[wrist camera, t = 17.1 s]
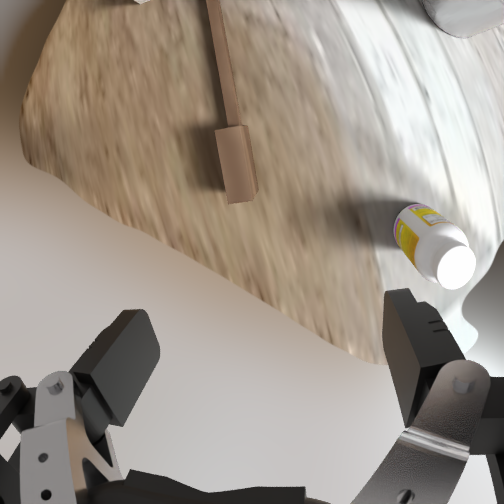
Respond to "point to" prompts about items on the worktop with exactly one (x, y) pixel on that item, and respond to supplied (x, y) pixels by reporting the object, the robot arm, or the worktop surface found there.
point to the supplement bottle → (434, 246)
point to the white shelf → (141, 1)
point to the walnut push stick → (231, 122)
